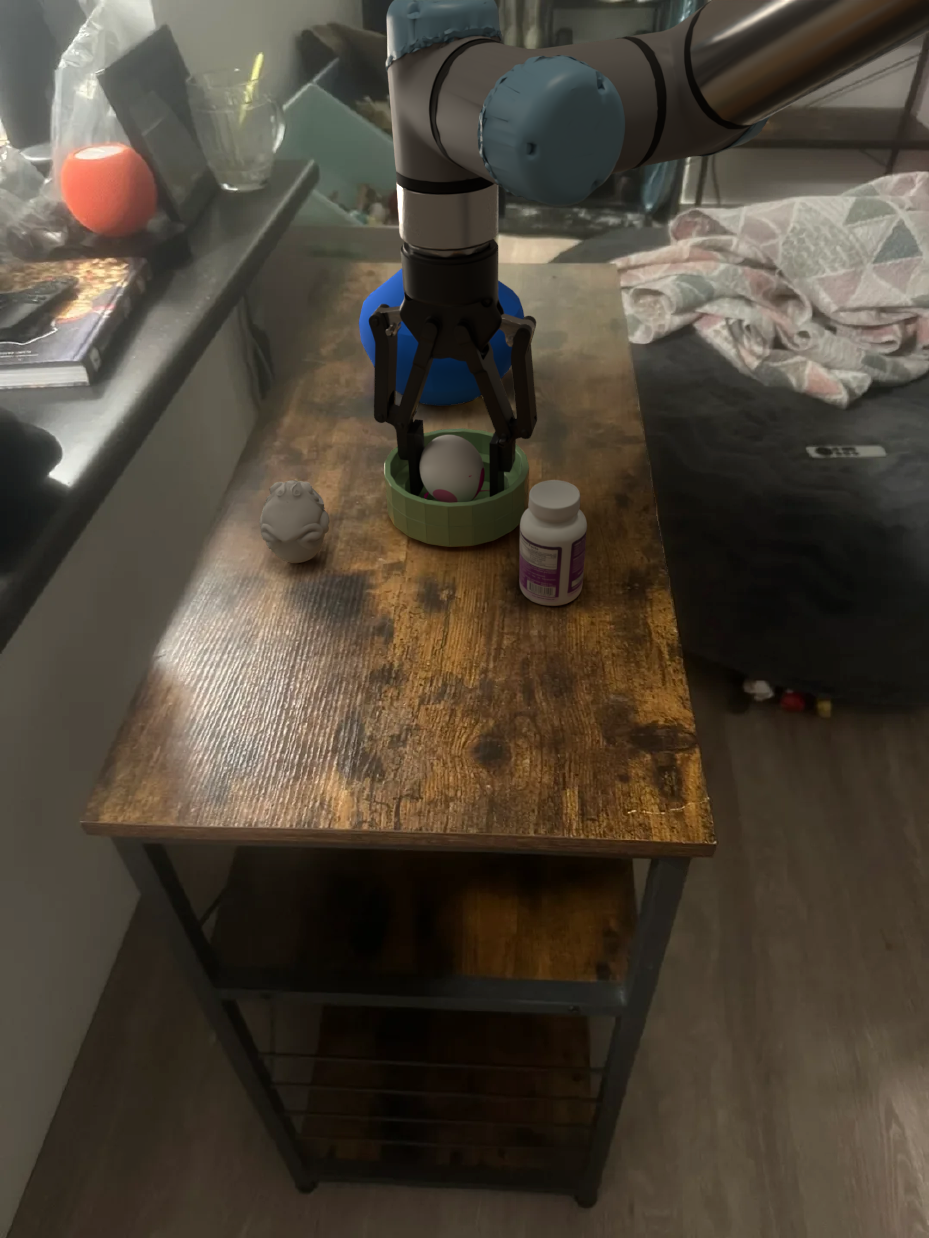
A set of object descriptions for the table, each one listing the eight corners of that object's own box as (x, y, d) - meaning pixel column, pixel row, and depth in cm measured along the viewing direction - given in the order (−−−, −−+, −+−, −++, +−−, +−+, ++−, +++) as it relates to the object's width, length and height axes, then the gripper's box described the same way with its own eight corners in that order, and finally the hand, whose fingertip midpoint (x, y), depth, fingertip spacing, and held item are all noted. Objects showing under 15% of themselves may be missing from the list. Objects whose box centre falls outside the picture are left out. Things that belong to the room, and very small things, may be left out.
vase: (483, 341, 111) (482, 178, 99) (550, 404, 99) (559, 226, 86) (345, 369, 106) (325, 201, 94) (397, 439, 94) (382, 257, 81)
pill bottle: (561, 561, 77) (567, 467, 71) (593, 596, 74) (603, 500, 67) (507, 579, 76) (508, 484, 69) (537, 616, 72) (541, 519, 66)
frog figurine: (339, 532, 81) (329, 467, 77) (328, 579, 76) (317, 513, 72) (274, 532, 82) (260, 467, 77) (258, 579, 76) (243, 513, 72)
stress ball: (477, 544, 82) (519, 493, 79) (404, 511, 78) (445, 456, 75) (467, 496, 88) (506, 447, 84) (399, 463, 84) (436, 410, 80)
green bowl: (539, 481, 87) (541, 436, 84) (510, 561, 78) (511, 514, 74) (411, 465, 90) (408, 421, 86) (369, 541, 80) (364, 495, 77)
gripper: (585, 231, 68) (568, 484, 83) (344, 216, 72) (370, 460, 87) (569, 266, 62) (554, 530, 78) (309, 248, 66) (344, 502, 82)
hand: (457, 492), depth 82 cm, fingers closed on stress ball, 7 cm apart
